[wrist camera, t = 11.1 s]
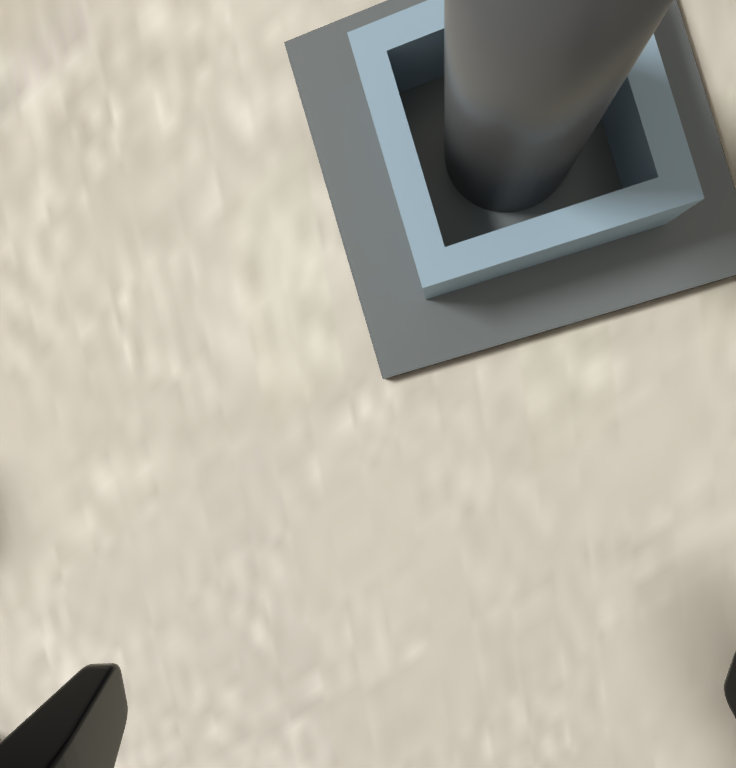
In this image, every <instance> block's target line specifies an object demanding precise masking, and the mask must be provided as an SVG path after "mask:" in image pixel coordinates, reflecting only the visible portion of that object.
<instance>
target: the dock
mask: <svg viewBox="0 0 736 768" xmlns="http://www.w3.org/2000/svg"><path fill="white" fill-rule="evenodd" d="M284 43H285V46H286V50H287V53H288V57H289V60H290V64H291V67H292V70H293V74H294V77H295V81H296V84H297V87H298V91H299V94H300V98H301V101H302V105H303V108H304V111H305V115H306V118H307V122H308V125H309V128H310V132H311V135H312V139H313V142H314V146H315V149H316V152H317V156H318V159H319V163H320V166H321V169H322V173H323V176H324V180H325V183H326V187H327V190H328V193H329V197H330V200H331V204H332V207H333V210H334V214H335V217H336V221H337V224H338V228H339V231H340V234H341V238H342V241H343V245H344V248H345V251H346V255H347V258H348V262H349V265H350V269H351V272H352V275H353V279H354V282H355V286H356V289H357V292H358V296H359V299H360V303H361V306H362V310H363V313H364V316H365V320H366V323H367V327H368V330H369V333H370V337H371V340H372V344H373V347H374V351H375V354H376V357H377V361H378V364H379V368H380V371H381V374H382V378H383V379H386V378H389V377H392V376H396V375H399V374H402V373H406V372H409V371H413V370H416V369H419V368H423V367H426V366H430V365H433V364H436V363H440V362H443V361H446V360H450V359H453V358H457V357H460V356H463V355H467V354H470V353H474V352H477V351H480V350H484V349H487V348H490V347H494V346H497V345H501V344H504V343H507V342H511V341H514V340H518V339H521V338H524V337H528V336H531V335H534V334H538V333H541V332H545V331H548V330H551V329H555V328H558V327H562V326H565V325H568V324H572V323H575V322H578V321H582V320H585V319H589V318H592V317H595V316H599V315H602V314H605V313H609V312H612V311H616V310H619V309H622V308H626V307H629V306H633V305H636V304H639V303H643V302H646V301H649V300H653V299H656V298H660V297H663V296H666V295H670V294H673V293H677V292H680V291H683V290H687V289H690V288H693V287H697V286H700V285H704V284H707V283H710V282H714V281H717V280H721V279H724V278H727V277H731V276H734V275H736V190H735V187H734V184H733V181H732V178H731V174H730V171H729V168H728V165H727V161H726V158H725V155H724V152H723V149H722V145H721V142H720V139H719V136H718V132H717V129H716V126H715V123H714V119H713V116H712V113H711V110H710V107H709V103H708V100H707V97H706V94H705V90H704V87H703V84H702V81H701V78H700V74H699V71H698V68H697V65H696V61H695V58H694V55H693V52H692V49H691V45H690V42H689V39H688V36H687V32H686V29H685V26H684V23H683V20H682V16H681V13H680V10H679V7H678V3H677V0H674V1H673V2H672V4H671V6H670V7H669V9H668V11H667V12H666V14H665V15H664V17H663V19H662V20H661V22H660V24H659V25H658V27H657V28H656V30H655V32H654V33H653V35H652V37H651V38H650V40H649V41H648V43H647V45H646V46H645V48H644V50H643V51H642V53H641V55H640V56H639V58H638V59H637V61H636V63H635V64H634V66H633V68H632V69H631V71H630V72H629V74H628V76H627V77H626V79H625V81H624V82H623V84H622V85H621V87H620V89H619V90H618V92H617V94H616V95H615V97H614V98H613V100H612V102H611V103H610V105H609V107H608V108H607V110H606V112H605V113H604V115H603V116H602V118H601V120H600V121H599V123H598V125H597V126H596V128H595V129H594V131H593V133H592V134H591V136H590V138H589V139H588V141H587V142H586V144H585V146H584V147H583V149H582V151H581V152H580V154H579V155H578V157H577V159H576V160H575V162H574V164H573V165H572V167H571V169H570V170H569V172H568V173H567V175H566V177H565V178H564V180H563V181H562V183H561V184H560V186H559V187H558V188H557V189H556V190H555V191H554V192H553V193H552V194H551V195H550V196H549V197H548V198H546V199H545V200H543V201H542V202H540V203H538V204H536V205H535V206H533V207H530V208H527V209H525V210H520V211H516V212H495V211H489V210H486V209H483V208H481V207H478V206H476V205H474V204H473V203H471V202H470V201H468V200H467V199H466V198H465V197H463V196H462V195H461V194H460V193H459V191H458V190H457V189H456V188H455V186H454V185H453V183H452V181H451V179H450V177H449V174H448V171H447V168H446V163H445V138H444V0H387V1H385V2H382V3H380V4H377V5H375V6H372V7H370V8H368V9H365V10H363V11H360V12H358V13H355V14H353V15H350V16H348V17H345V18H343V19H340V20H338V21H335V22H333V23H331V24H328V25H326V26H323V27H321V28H318V29H316V30H313V31H311V32H308V33H306V34H303V35H301V36H299V37H296V38H294V39H291V40H289V41H286V42H284Z"/></svg>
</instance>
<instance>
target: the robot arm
mask: <svg viewBox="0 0 736 768" xmlns="http://www.w3.org/2000/svg"><path fill="white" fill-rule="evenodd" d="M724 691H725V696H726V699H727V702H728V705H729V707H730V709H731V711H732V712H733V714H734V716H735V718H736V651H735V654H734V657H733V660H732V662H731V665H730V668H729V671H728V674H727V677H726V680H725V684H724ZM127 712H128V706H127V700H126V695H125V689H124V684H123V679H122V674H121V670H120V667H119V666H118V665H117V664H114V663H108V664H90V665H87V666H86V667H84V668H82V669H81V670H80V671H79V672H78V673H77V674H76V675H74V676H73V677H72V678H71V679H70V680H69V681H68V682H67V683H66V684H65V685H63V686H62V687H61V688H60V689H59V690H58V691H57V692H56V693H55V694H54V695H52V696H51V697H50V698H49V699H48V700H47V701H46V702H45V703H44V704H43V705H41V706H40V707H39V708H38V709H37V710H36V711H35V712H34V713H33V714H32V715H31V716H29V717H28V718H27V719H26V720H25V721H24V722H23V723H22V724H21V725H20V726H18V727H17V728H16V729H15V730H14V731H13V732H12V733H11V734H10V735H9V736H7V737H6V738H5V739H4V740H3V741H2V742H1V743H0V768H114V766H115V762H116V758H117V755H118V751H119V747H120V744H121V740H122V736H123V733H124V729H125V725H126V720H127Z"/></svg>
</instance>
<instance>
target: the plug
mask: <svg viewBox="0 0 736 768" xmlns="http://www.w3.org/2000/svg"><path fill="white" fill-rule="evenodd" d="M673 1H674V0H444V138H445V163H446V168H447V171H448V174H449V177H450V179H451V181H452V183H453V185H454V186H455V188H456V189H457V190H458V191H459V193H460V194H461V195H462V196H463V197H465V198H466V199H467V200H468V201H470V202H471V203H473V204H474V205H476V206H478V207H481V208H483V209H486V210H489V211H495V212H516V211H520V210H525V209H527V208H530V207H533V206H535V205H536V204H538V203H540V202H542V201H543V200H545V199H546V198H548V197H549V196H550V195H551V194H552V193H553V192H554V191H555V190H556V189H557V188H558V187H559V186H560V184H561V183H562V181H563V180H564V178H565V177H566V175H567V173H568V172H569V170H570V169H571V167H572V165H573V164H574V162H575V160H576V159H577V157H578V155H579V154H580V152H581V151H582V149H583V147H584V146H585V144H586V142H587V141H588V139H589V138H590V136H591V134H592V133H593V131H594V129H595V128H596V126H597V125H598V123H599V121H600V120H601V118H602V116H603V115H604V113H605V112H606V110H607V108H608V107H609V105H610V103H611V102H612V100H613V98H614V97H615V95H616V94H617V92H618V90H619V89H620V87H621V85H622V84H623V82H624V81H625V79H626V77H627V76H628V74H629V72H630V71H631V69H632V68H633V66H634V64H635V63H636V61H637V59H638V58H639V56H640V55H641V53H642V51H643V50H644V48H645V46H646V45H647V43H648V41H649V40H650V38H651V37H652V35H653V33H654V32H655V30H656V28H657V27H658V25H659V24H660V22H661V20H662V19H663V17H664V15H665V14H666V12H667V11H668V9H669V7H670V6H671V4H672V2H673Z"/></svg>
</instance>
